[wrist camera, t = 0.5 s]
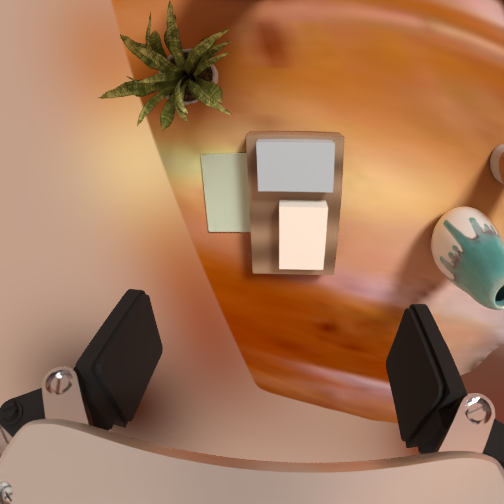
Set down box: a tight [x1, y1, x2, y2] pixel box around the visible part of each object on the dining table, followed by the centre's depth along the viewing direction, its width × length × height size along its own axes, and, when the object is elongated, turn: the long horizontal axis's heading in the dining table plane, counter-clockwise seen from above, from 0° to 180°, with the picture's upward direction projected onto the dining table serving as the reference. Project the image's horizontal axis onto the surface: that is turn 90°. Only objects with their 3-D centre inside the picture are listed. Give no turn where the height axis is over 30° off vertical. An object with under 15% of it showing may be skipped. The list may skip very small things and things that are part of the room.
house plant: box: [100, 2, 233, 130], centre depth 28 cm, size 14×14×16 cm
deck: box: [246, 131, 344, 275], centre depth 41 cm, size 20×12×4 cm, turn 2°
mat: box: [201, 153, 251, 232], centre depth 43 cm, size 12×7×1 cm, turn 2°
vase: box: [431, 206, 504, 310], centre depth 34 cm, size 12×12×18 cm
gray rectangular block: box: [256, 139, 335, 193], centre depth 35 cm, size 9×6×2 cm, turn 92°
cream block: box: [279, 200, 328, 270], centre depth 40 cm, size 9×6×2 cm, turn 2°
